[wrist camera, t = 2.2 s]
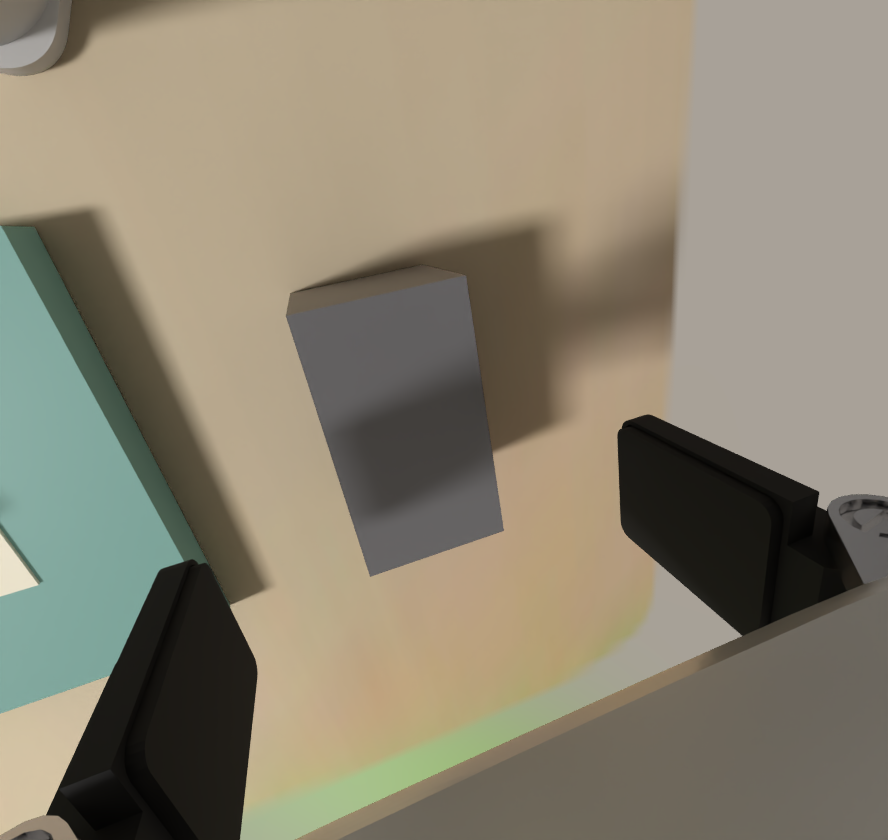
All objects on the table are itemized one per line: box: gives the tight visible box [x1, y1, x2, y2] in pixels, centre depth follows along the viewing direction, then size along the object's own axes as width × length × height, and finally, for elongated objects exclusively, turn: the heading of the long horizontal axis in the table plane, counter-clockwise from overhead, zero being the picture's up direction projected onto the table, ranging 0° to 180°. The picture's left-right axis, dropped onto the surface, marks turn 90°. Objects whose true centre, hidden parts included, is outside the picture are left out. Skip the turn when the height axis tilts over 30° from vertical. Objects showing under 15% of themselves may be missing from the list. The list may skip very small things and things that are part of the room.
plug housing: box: [286, 265, 504, 577], centre depth 14 cm, size 4×8×4 cm, turn 11°
